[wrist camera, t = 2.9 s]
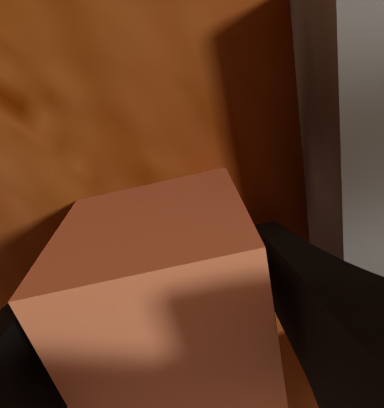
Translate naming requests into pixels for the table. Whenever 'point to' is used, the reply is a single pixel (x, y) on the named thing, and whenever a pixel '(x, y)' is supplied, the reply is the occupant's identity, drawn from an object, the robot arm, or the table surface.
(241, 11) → the table surface
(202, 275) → the terracotta cube
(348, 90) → the gray slab
